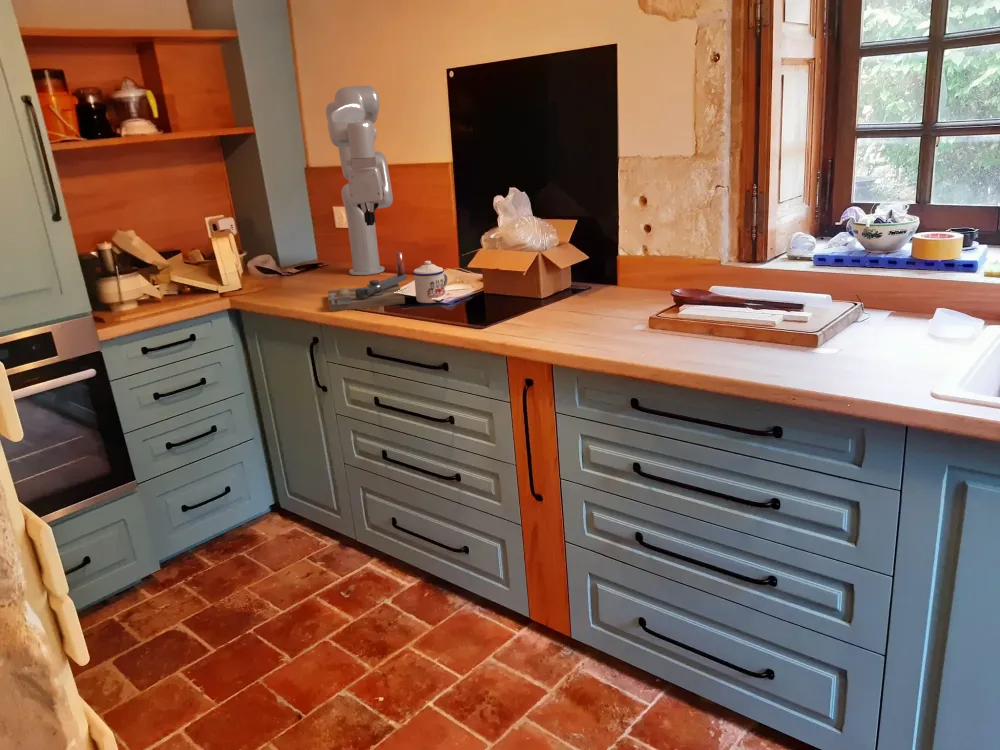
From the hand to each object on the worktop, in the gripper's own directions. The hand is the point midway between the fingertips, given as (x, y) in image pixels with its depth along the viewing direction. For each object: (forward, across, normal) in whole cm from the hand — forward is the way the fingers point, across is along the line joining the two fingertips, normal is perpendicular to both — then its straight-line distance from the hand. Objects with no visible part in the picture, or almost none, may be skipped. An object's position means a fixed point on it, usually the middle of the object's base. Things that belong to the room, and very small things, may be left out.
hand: (370, 224), depth 235 cm
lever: (+18, +4, -10) cm, 21 cm away
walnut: (+19, -5, -22) cm, 29 cm away
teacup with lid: (+21, +20, -15) cm, 33 cm away
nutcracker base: (+21, -1, -13) cm, 24 cm away
